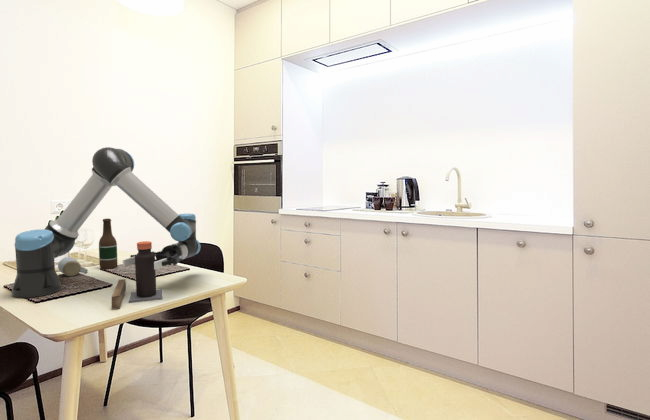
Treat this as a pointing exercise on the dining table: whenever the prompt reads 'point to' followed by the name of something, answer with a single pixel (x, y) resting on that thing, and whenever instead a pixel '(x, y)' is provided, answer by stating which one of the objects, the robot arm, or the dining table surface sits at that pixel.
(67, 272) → the ceramic mug
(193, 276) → the dining table surface
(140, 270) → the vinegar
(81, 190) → the robot arm
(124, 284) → the door rail
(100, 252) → the beer bottle
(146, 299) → the pad
